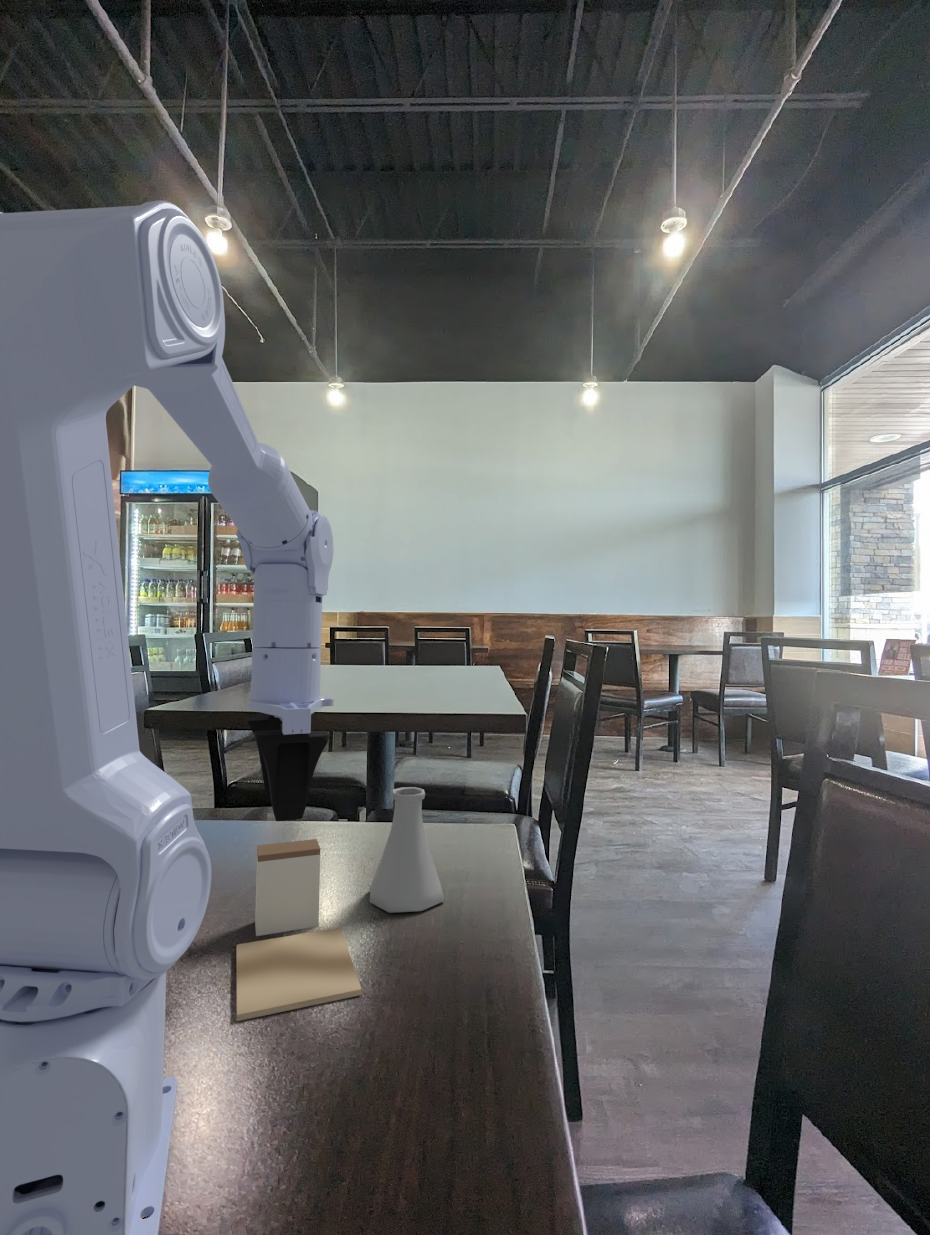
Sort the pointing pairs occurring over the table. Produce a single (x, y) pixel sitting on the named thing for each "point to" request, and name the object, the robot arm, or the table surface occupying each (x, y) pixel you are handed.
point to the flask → (406, 860)
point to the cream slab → (287, 886)
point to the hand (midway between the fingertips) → (283, 805)
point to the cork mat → (293, 973)
